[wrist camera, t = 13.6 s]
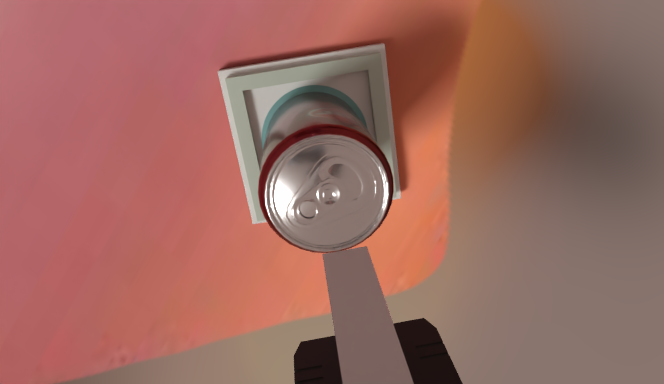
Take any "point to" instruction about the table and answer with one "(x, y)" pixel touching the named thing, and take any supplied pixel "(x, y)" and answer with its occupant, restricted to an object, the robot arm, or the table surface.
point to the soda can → (322, 175)
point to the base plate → (297, 78)
